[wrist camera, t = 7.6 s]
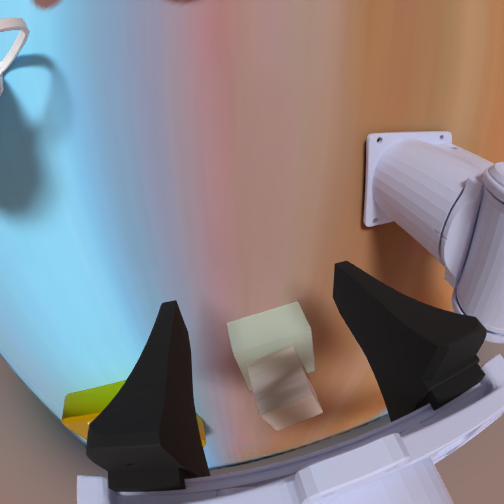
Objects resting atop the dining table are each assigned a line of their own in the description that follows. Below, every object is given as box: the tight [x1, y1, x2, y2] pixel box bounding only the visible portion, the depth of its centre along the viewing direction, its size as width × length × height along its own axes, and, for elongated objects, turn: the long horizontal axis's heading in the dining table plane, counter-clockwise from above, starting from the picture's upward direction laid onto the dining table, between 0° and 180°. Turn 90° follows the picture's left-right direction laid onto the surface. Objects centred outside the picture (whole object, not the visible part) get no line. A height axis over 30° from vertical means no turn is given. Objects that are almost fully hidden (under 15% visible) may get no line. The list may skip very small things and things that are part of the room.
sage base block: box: [226, 301, 315, 391], centre depth 29 cm, size 7×7×4 cm
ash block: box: [246, 344, 323, 431], centre depth 25 cm, size 4×4×6 cm
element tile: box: [62, 380, 206, 447], centre depth 33 cm, size 15×15×5 cm
